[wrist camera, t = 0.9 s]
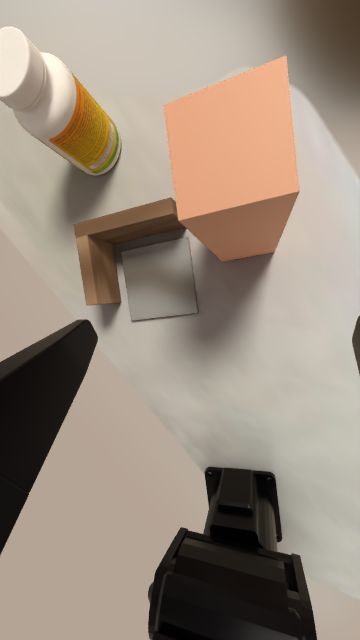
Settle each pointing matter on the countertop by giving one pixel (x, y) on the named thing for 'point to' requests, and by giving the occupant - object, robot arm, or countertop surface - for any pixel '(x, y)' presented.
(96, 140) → the supplement bottle
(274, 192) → the terracotta block
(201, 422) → the countertop surface
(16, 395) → the robot arm
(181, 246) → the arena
